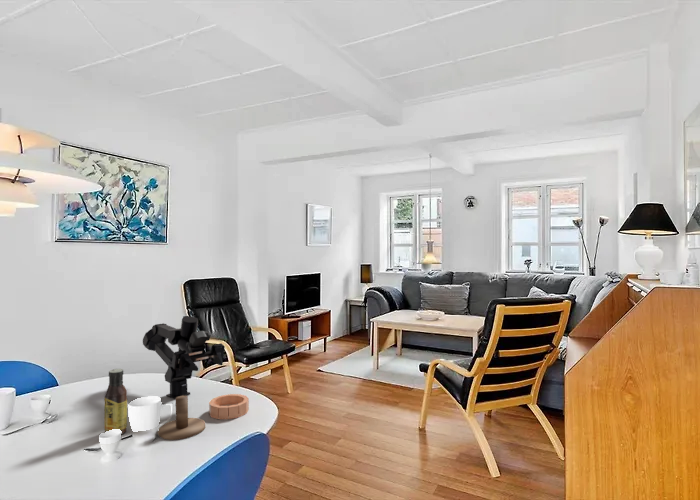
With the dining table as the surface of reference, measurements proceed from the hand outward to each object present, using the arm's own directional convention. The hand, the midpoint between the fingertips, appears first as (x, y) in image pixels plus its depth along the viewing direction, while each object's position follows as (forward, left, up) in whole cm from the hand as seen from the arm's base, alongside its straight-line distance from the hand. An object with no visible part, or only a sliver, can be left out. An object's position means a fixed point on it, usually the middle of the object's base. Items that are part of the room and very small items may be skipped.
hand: (210, 366), depth 150 cm
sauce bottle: (-13, -26, -16) cm, 33 cm away
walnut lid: (+3, -14, -16) cm, 22 cm away
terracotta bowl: (+5, +4, -16) cm, 17 cm away
